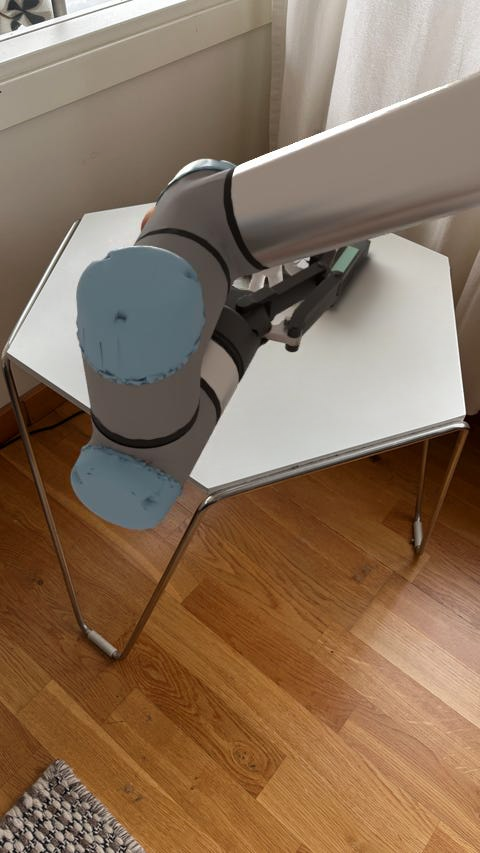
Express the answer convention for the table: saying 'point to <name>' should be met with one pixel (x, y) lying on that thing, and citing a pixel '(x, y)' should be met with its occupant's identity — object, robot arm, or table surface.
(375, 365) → the table surface
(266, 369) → the table surface
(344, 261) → the scale
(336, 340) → the table surface
